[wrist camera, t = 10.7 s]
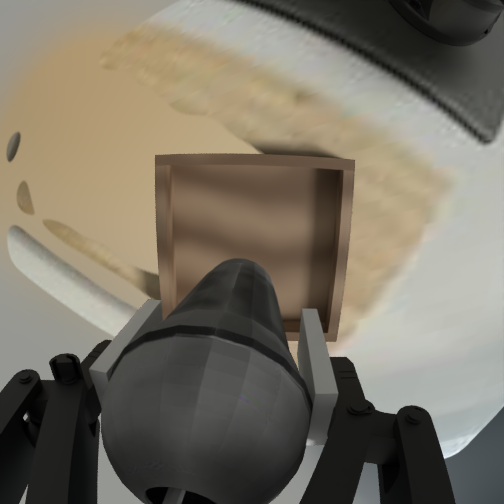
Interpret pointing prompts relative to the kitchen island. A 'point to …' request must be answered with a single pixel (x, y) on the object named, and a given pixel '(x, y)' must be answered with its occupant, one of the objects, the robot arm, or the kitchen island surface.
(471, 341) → the kitchen island surface
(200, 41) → the kitchen island surface
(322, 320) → the serving tray
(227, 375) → the beverage cup
